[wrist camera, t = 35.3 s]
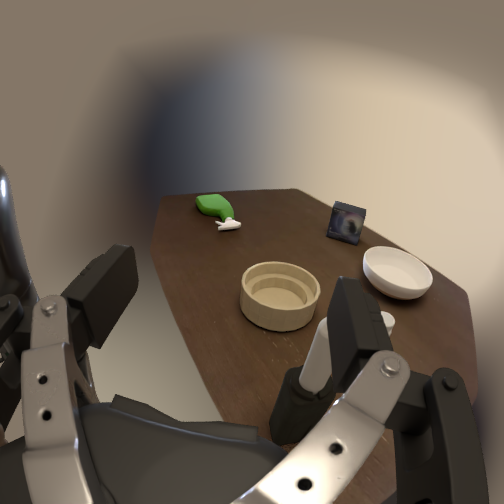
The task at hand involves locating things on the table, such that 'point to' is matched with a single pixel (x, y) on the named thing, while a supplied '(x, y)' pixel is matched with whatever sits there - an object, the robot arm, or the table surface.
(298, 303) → the beige round dish
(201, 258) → the table surface
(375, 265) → the bowl
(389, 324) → the pill bottle
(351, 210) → the small box
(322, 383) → the candle
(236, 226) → the spray bottle
